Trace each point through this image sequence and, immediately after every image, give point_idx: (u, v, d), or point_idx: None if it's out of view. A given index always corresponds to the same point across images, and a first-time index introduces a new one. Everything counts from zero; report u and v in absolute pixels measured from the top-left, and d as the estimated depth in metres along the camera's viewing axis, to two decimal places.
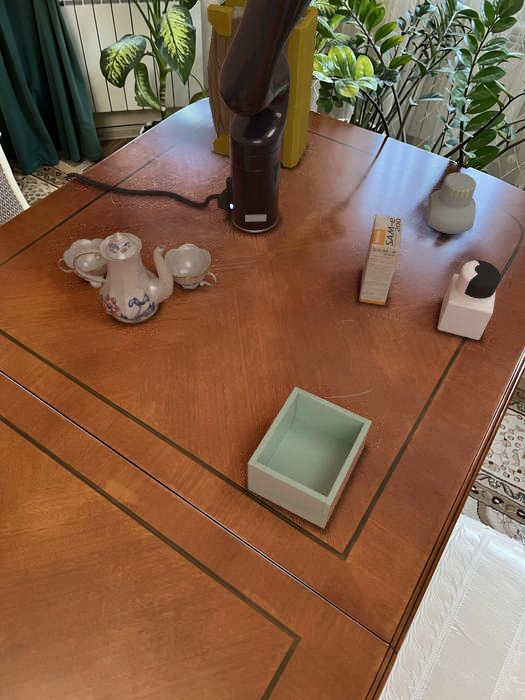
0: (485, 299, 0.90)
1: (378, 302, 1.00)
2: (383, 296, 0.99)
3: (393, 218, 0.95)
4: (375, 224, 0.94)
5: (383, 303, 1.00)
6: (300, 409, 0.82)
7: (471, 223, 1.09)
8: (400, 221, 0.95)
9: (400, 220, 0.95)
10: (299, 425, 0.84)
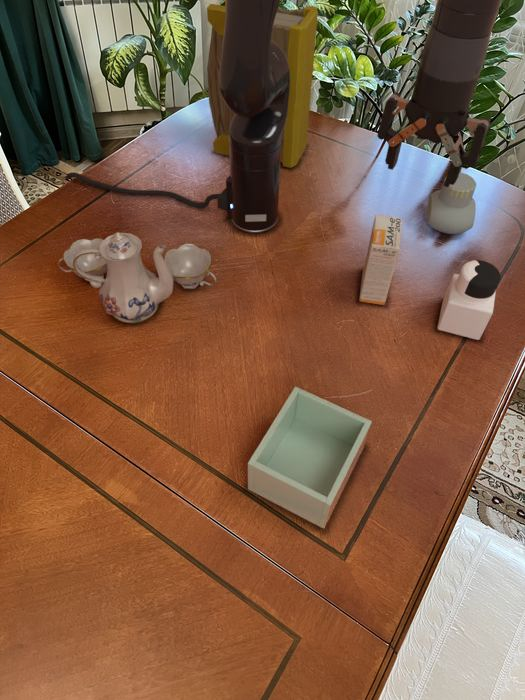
0: (485, 299, 0.90)
1: (378, 302, 1.00)
2: (383, 296, 0.99)
3: (393, 218, 0.95)
4: (375, 224, 0.94)
5: (383, 303, 1.00)
6: (300, 409, 0.82)
7: (471, 223, 1.09)
8: (400, 221, 0.95)
9: (400, 220, 0.95)
10: (299, 425, 0.84)
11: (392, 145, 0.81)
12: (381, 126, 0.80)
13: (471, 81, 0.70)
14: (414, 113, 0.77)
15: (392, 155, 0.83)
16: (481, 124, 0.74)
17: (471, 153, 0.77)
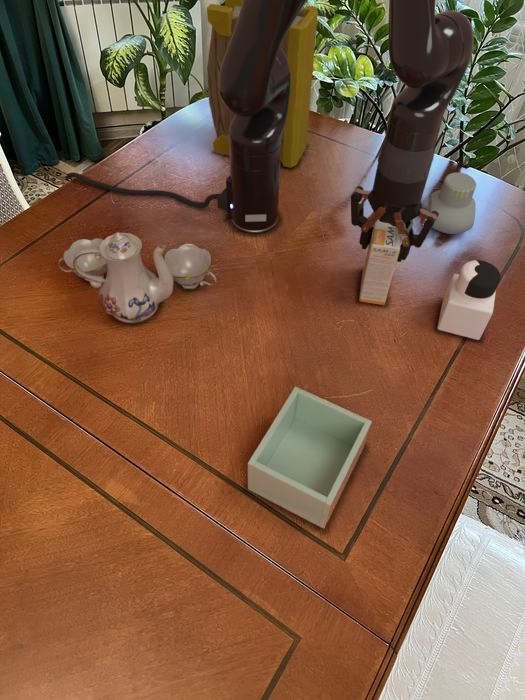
0: (485, 299, 0.90)
1: (378, 302, 1.00)
2: (383, 296, 0.99)
3: None
4: (375, 224, 0.94)
5: (383, 303, 1.00)
6: (300, 409, 0.82)
7: (471, 223, 1.09)
8: None
9: None
10: (299, 425, 0.84)
11: (364, 231, 0.94)
12: (352, 215, 0.93)
13: (420, 182, 0.82)
14: (375, 201, 0.89)
15: (364, 238, 0.95)
16: (431, 218, 0.86)
17: (418, 238, 0.89)
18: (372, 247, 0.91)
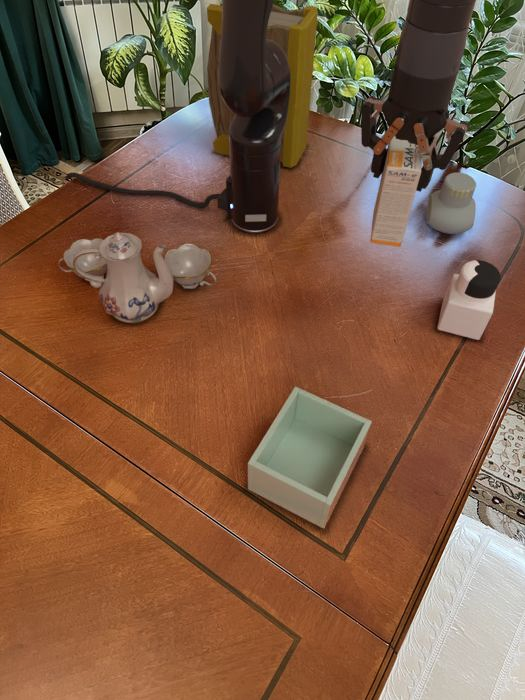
0: (485, 299, 0.90)
1: (393, 243, 0.85)
2: (399, 235, 0.83)
3: None
4: (390, 145, 0.79)
5: (399, 244, 0.84)
6: (300, 409, 0.82)
7: (471, 223, 1.09)
8: None
9: None
10: (299, 425, 0.84)
11: (377, 153, 0.78)
12: (363, 133, 0.77)
13: (449, 78, 0.66)
14: (392, 112, 0.73)
15: (377, 163, 0.79)
16: (460, 129, 0.71)
17: (444, 156, 0.74)
18: (387, 170, 0.75)
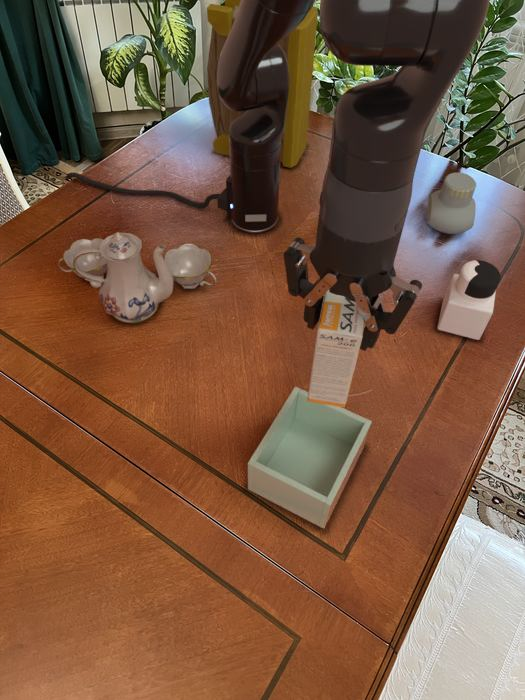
0: (485, 299, 0.90)
1: (335, 404, 0.67)
2: (342, 396, 0.65)
3: None
4: (326, 293, 0.61)
5: (343, 405, 0.67)
6: (300, 409, 0.82)
7: (471, 223, 1.09)
8: None
9: None
10: (299, 425, 0.84)
11: (308, 304, 0.60)
12: (289, 281, 0.59)
13: (389, 239, 0.49)
14: (322, 264, 0.55)
15: (310, 315, 0.62)
16: (409, 294, 0.53)
17: (391, 320, 0.56)
18: (319, 333, 0.58)
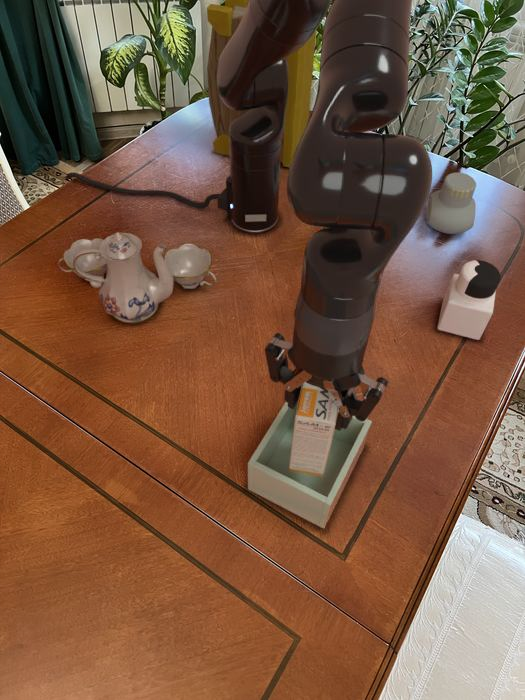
0: (485, 299, 0.90)
1: (314, 473, 0.73)
2: (320, 468, 0.72)
3: None
4: None
5: (321, 475, 0.73)
6: None
7: (471, 223, 1.09)
8: None
9: None
10: None
11: (288, 390, 0.67)
12: (270, 370, 0.66)
13: (355, 351, 0.55)
14: None
15: (290, 398, 0.68)
16: (376, 392, 0.59)
17: (361, 411, 0.62)
18: (296, 420, 0.64)
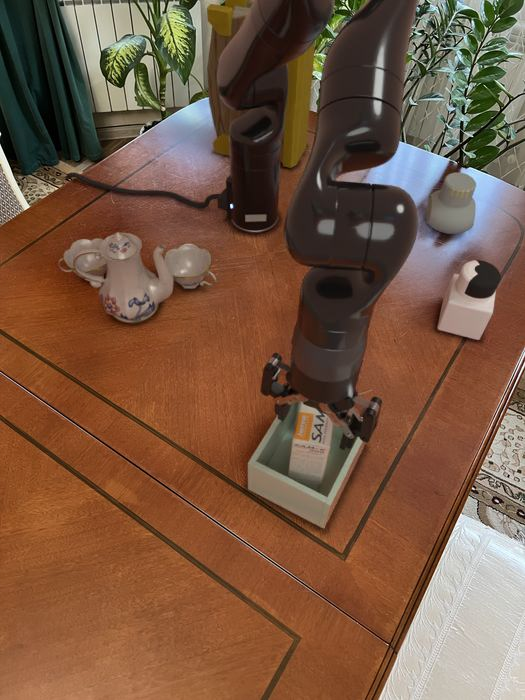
0: (485, 299, 0.90)
1: None
2: (316, 486, 0.76)
3: None
4: (301, 404, 0.71)
5: None
6: None
7: (471, 223, 1.09)
8: None
9: None
10: None
11: (278, 403, 0.70)
12: (263, 385, 0.69)
13: (349, 378, 0.58)
14: None
15: (280, 410, 0.71)
16: (369, 410, 0.62)
17: (362, 432, 0.65)
18: (293, 443, 0.68)
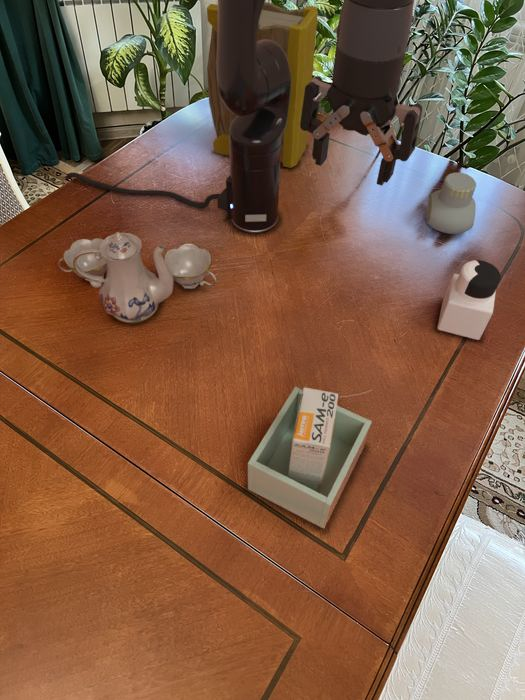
0: (485, 299, 0.90)
1: None
2: (316, 486, 0.76)
3: (326, 394, 0.72)
4: (301, 403, 0.71)
5: None
6: None
7: (471, 223, 1.09)
8: (335, 399, 0.72)
9: (335, 397, 0.72)
10: None
11: (317, 137, 0.71)
12: (303, 115, 0.70)
13: (393, 60, 0.60)
14: (337, 99, 0.67)
15: (318, 149, 0.73)
16: (410, 112, 0.64)
17: (402, 146, 0.67)
18: (293, 442, 0.68)
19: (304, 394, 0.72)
